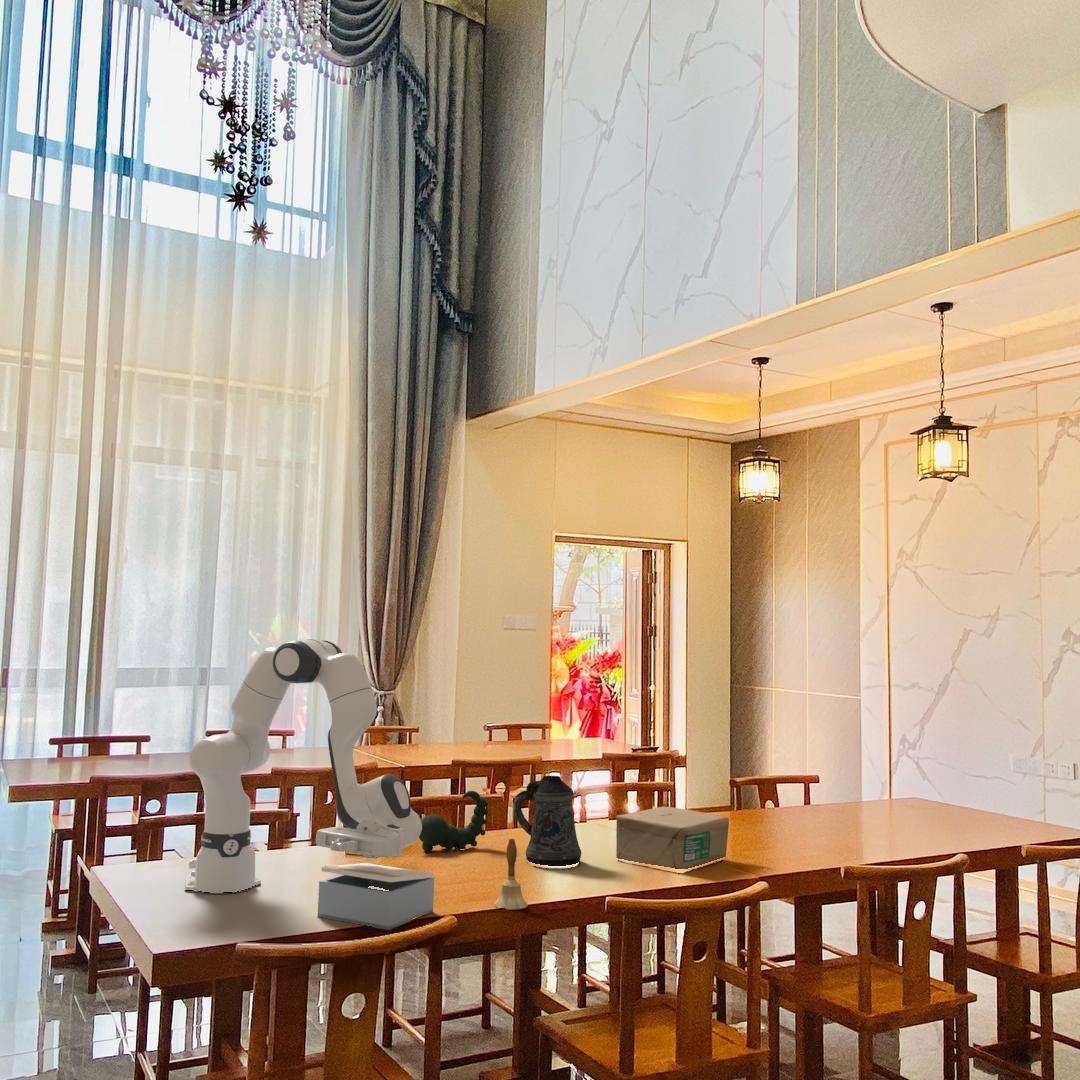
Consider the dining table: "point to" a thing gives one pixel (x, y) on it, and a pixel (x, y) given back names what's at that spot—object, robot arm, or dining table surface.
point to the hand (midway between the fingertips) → (335, 847)
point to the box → (374, 900)
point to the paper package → (671, 837)
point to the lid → (377, 872)
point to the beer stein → (549, 823)
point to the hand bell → (511, 883)
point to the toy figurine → (454, 828)
